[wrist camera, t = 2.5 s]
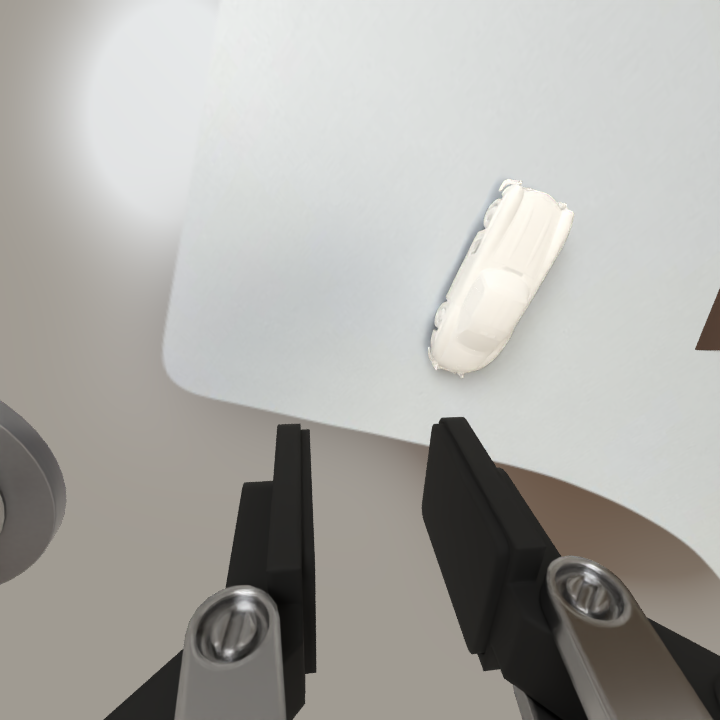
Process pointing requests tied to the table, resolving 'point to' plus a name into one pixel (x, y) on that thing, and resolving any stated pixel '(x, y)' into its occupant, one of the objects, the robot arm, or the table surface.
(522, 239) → the toy car
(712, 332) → the ramp
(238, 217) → the table surface
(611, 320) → the table surface
